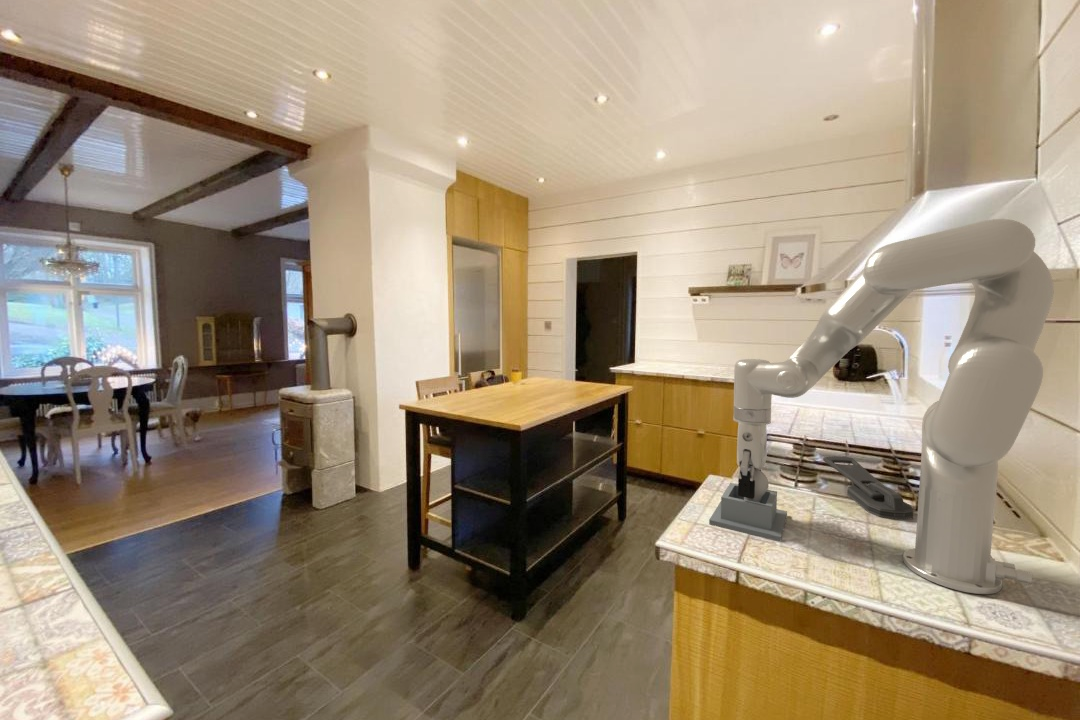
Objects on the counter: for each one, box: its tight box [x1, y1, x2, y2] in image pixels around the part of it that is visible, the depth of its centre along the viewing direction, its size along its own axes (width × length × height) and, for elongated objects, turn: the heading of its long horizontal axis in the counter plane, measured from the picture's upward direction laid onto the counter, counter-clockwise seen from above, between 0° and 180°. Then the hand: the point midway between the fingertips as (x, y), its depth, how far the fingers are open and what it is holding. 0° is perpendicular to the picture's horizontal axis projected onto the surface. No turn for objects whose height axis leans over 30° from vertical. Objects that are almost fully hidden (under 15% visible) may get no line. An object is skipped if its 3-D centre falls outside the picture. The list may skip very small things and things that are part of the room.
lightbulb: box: [744, 469, 770, 503], centre depth 96 cm, size 6×6×11 cm
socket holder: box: [708, 482, 788, 542], centre depth 97 cm, size 14×14×6 cm
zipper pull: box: [822, 456, 914, 521], centre depth 108 cm, size 9×7×25 cm
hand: (749, 489), depth 96 cm, fingers open, 8 cm apart
